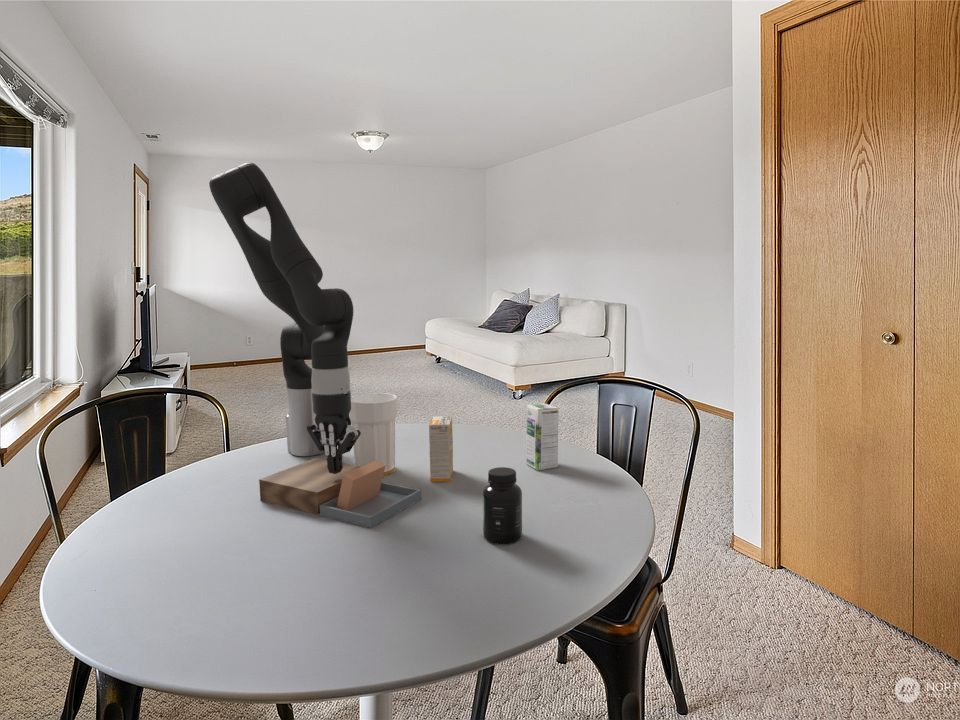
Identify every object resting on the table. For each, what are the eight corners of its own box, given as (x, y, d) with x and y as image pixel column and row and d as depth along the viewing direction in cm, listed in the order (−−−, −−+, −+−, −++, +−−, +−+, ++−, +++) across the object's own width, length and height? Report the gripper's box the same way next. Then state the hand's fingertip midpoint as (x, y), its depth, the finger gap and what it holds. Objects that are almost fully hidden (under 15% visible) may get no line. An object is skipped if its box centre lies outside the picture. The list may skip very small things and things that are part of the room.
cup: (390, 480, 142) (387, 403, 140) (343, 477, 145) (339, 402, 142) (406, 464, 153) (403, 393, 151) (361, 461, 155) (358, 392, 153)
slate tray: (320, 515, 123) (319, 505, 123) (373, 489, 137) (372, 480, 136) (371, 527, 117) (370, 517, 116) (421, 499, 130) (421, 489, 130)
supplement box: (451, 482, 140) (450, 424, 138) (429, 482, 140) (428, 424, 138) (454, 470, 148) (452, 415, 146) (433, 470, 149) (431, 415, 147)
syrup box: (525, 464, 152) (525, 404, 150) (546, 460, 154) (546, 402, 152) (537, 471, 147) (537, 409, 145) (559, 467, 149) (559, 407, 147)
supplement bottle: (476, 540, 111) (475, 474, 109) (494, 526, 117) (493, 463, 115) (512, 548, 108) (511, 480, 106) (528, 533, 114) (528, 468, 112)
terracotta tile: (343, 474, 122) (353, 480, 121) (376, 460, 131) (385, 465, 130) (336, 505, 124) (346, 511, 123) (369, 489, 133) (378, 494, 132)
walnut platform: (260, 500, 131) (259, 479, 130) (316, 477, 145) (315, 458, 144) (318, 514, 123) (317, 492, 122) (371, 488, 137) (370, 468, 136)
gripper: (293, 389, 128) (298, 473, 130) (343, 395, 121) (347, 483, 124) (320, 383, 134) (324, 462, 137) (369, 388, 127) (372, 472, 130)
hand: (335, 472), depth 130 cm, fingers closed
